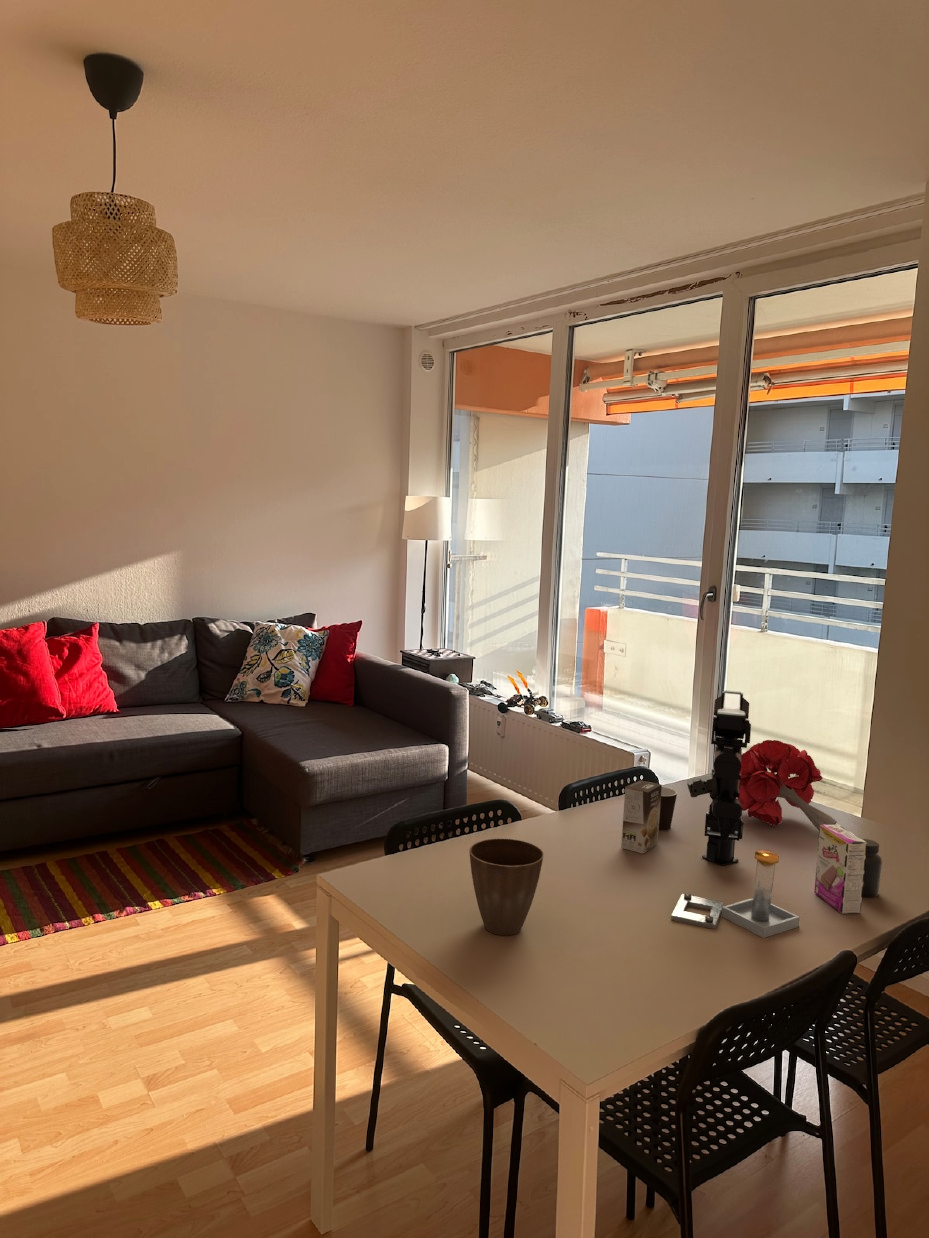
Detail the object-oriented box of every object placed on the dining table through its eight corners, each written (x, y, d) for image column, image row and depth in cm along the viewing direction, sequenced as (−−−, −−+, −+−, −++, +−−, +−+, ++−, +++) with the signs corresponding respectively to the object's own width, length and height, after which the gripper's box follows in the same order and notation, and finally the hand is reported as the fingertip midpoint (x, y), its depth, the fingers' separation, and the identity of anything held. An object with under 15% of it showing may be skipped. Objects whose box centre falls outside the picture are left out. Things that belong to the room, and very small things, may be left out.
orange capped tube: (752, 910, 191) (758, 848, 189) (774, 917, 188) (781, 854, 186) (745, 918, 187) (752, 854, 185) (768, 925, 184) (775, 861, 182)
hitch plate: (681, 898, 198) (682, 891, 197) (723, 906, 194) (723, 899, 194) (671, 919, 187) (671, 912, 186) (715, 929, 183) (715, 921, 183)
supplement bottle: (847, 895, 203) (851, 844, 201) (845, 883, 209) (850, 834, 208) (880, 900, 200) (885, 849, 199) (877, 889, 207) (882, 839, 205)
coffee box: (643, 854, 223) (647, 792, 221) (620, 848, 226) (624, 787, 224) (658, 844, 230) (662, 784, 228) (635, 838, 234) (639, 779, 232)
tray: (756, 905, 195) (757, 896, 195) (798, 926, 186) (799, 916, 186) (721, 916, 189) (722, 906, 189) (763, 937, 180) (764, 928, 180)
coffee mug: (677, 832, 239) (680, 796, 238) (645, 831, 239) (648, 795, 238) (668, 817, 251) (670, 783, 250) (638, 816, 251) (640, 782, 250)
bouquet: (823, 843, 254) (740, 773, 269) (871, 784, 243) (781, 714, 258) (792, 868, 239) (705, 792, 254) (842, 807, 227) (748, 731, 242)
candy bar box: (812, 893, 203) (818, 823, 201) (832, 892, 204) (838, 823, 202) (840, 914, 192) (847, 841, 190) (861, 914, 193) (868, 841, 191)
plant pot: (467, 908, 188) (470, 836, 186) (537, 912, 188) (541, 839, 186) (465, 942, 173) (468, 863, 171) (541, 946, 173) (545, 867, 171)
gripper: (689, 753, 211) (685, 816, 213) (691, 774, 193) (686, 843, 195) (738, 757, 209) (733, 821, 210) (744, 779, 191) (739, 849, 192)
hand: (722, 833), depth 202 cm, fingers open, 9 cm apart
